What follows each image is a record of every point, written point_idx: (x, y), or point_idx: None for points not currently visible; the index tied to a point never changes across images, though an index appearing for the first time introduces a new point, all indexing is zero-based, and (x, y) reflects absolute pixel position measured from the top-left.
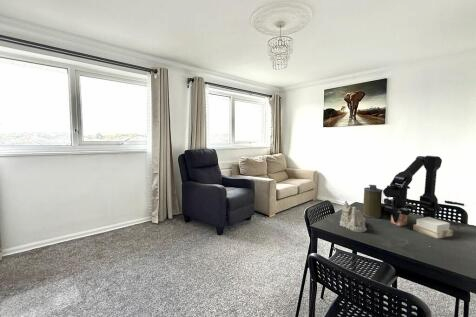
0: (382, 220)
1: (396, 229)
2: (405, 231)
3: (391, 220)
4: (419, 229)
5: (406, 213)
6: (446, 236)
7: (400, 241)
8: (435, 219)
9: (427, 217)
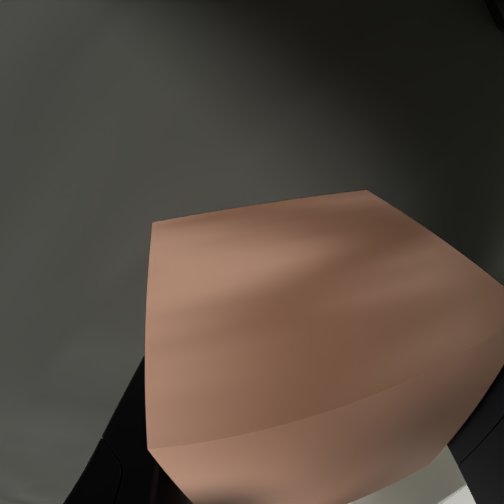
0: (43, 68)
1: (60, 437)
2: None
3: (153, 256)
4: None
5: (473, 465)
6: None
7: (13, 500)
8: (444, 500)
9: (460, 488)
